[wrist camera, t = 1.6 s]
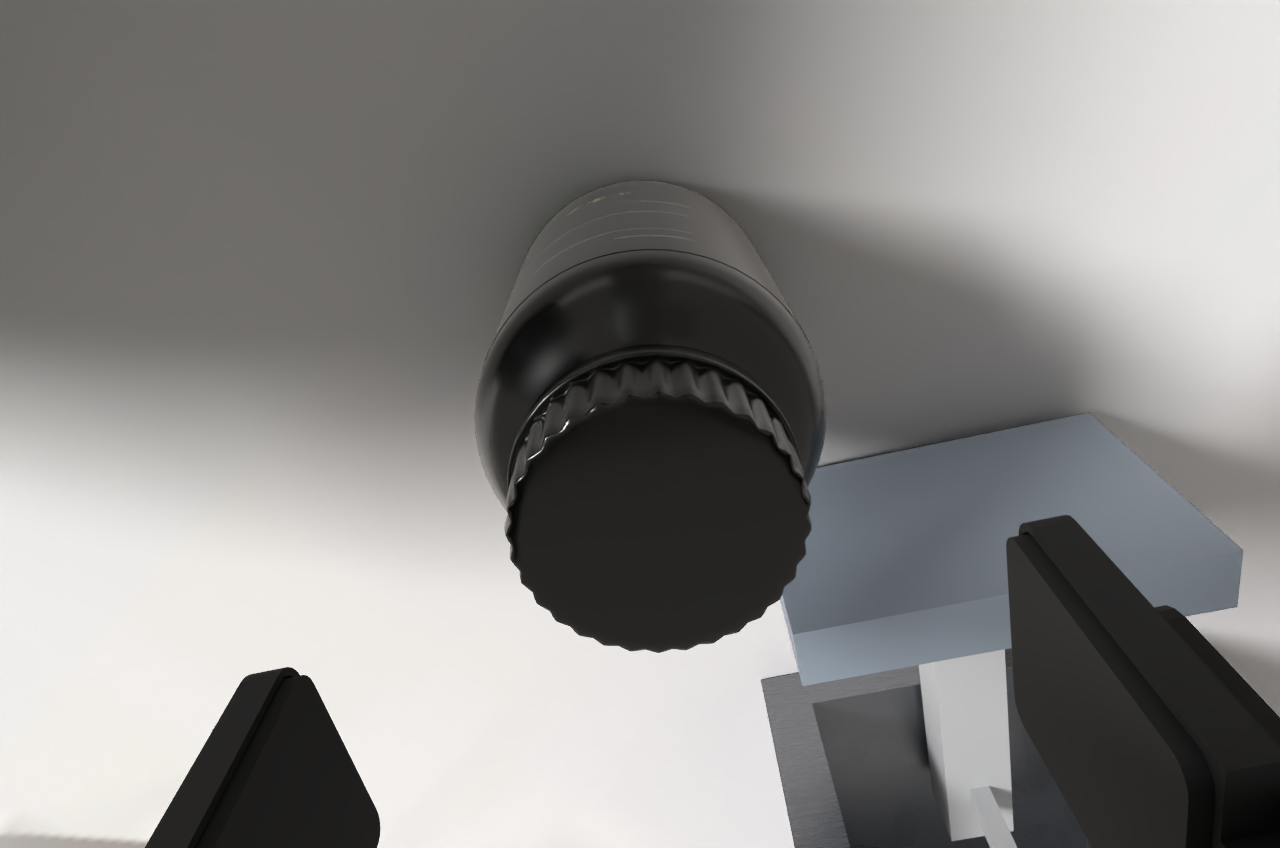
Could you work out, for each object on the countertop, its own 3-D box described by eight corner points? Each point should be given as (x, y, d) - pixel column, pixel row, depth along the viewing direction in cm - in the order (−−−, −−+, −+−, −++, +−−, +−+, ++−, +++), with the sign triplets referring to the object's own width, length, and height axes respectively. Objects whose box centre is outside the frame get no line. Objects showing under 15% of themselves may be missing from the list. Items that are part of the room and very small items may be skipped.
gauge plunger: (752, 481, 26) (807, 689, 18) (1159, 398, 25) (1402, 581, 17) (809, 775, 32) (870, 1031, 24) (1144, 717, 31) (1323, 964, 23)
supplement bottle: (793, 365, 25) (922, 643, 14) (573, 439, 26) (539, 751, 15) (721, 132, 22) (815, 261, 11) (477, 224, 23) (351, 424, 12)
